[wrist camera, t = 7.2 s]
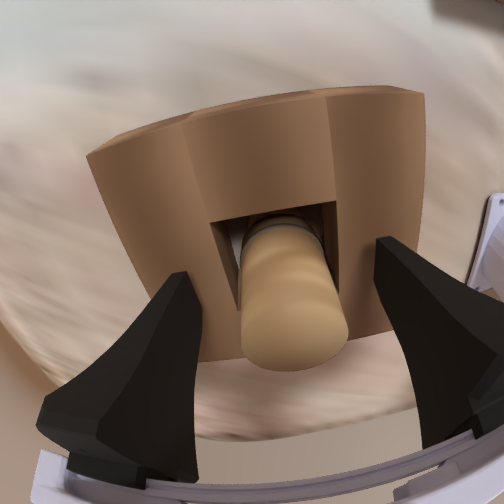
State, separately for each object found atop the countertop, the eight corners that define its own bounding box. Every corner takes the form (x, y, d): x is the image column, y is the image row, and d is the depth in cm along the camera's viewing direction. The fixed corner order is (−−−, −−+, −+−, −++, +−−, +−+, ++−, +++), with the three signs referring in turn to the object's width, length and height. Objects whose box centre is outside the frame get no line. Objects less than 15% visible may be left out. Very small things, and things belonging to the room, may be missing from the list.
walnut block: (388, 85, 10) (424, 93, 8) (383, 292, 17) (400, 328, 14) (117, 135, 11) (85, 155, 9) (194, 324, 18) (188, 363, 16)
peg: (305, 185, 13) (351, 293, 7) (312, 245, 15) (348, 361, 9) (233, 199, 13) (226, 316, 8) (249, 256, 15) (252, 378, 9)
